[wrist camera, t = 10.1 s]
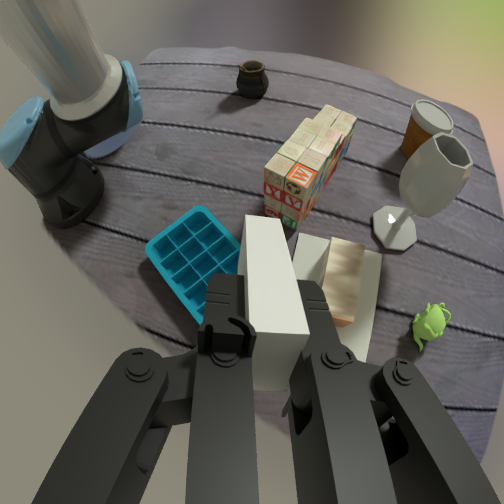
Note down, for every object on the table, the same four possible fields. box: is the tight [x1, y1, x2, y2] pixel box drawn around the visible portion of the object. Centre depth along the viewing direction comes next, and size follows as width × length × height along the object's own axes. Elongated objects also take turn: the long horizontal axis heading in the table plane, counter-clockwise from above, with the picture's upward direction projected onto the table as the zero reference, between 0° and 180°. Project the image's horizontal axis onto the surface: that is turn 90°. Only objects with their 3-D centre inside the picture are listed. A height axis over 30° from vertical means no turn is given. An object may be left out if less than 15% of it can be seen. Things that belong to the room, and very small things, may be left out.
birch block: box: [318, 237, 365, 328], centre depth 39 cm, size 5×5×11 cm
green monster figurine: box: [412, 303, 451, 351], centre depth 36 cm, size 6×5×6 cm
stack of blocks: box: [264, 104, 357, 231], centre depth 44 cm, size 21×6×12 cm, turn 147°
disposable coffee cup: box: [401, 100, 453, 159], centre depth 47 cm, size 10×10×12 cm
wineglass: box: [372, 132, 473, 251], centre depth 36 cm, size 9×9×21 cm
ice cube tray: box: [145, 205, 241, 325], centre depth 42 cm, size 12×20×3 cm, turn 41°
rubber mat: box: [292, 233, 382, 362], centre depth 41 cm, size 14×20×1 cm
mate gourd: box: [236, 60, 269, 98], centre depth 55 cm, size 7×8×10 cm
